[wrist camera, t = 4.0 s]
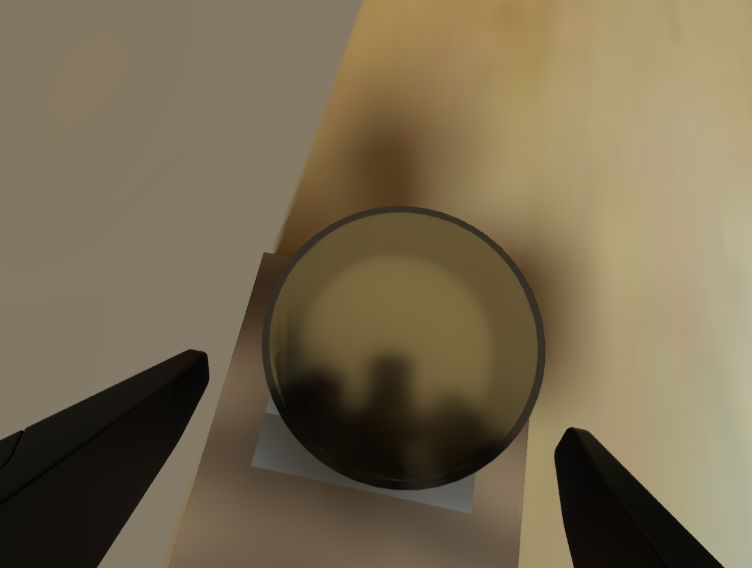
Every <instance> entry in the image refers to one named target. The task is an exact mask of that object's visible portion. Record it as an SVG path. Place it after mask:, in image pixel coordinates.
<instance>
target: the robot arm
mask: <svg viewBox="0 0 752 568" xmlns="http://www.w3.org/2000/svg"><path fill="white" fill-rule="evenodd" d="M208 382H209V366H208V356H207V354H206V353H205V352H202V351H198V350H193V349H189V350H187V351H185V352H182V353H180V354H178V355H176V356H174V357H172V358H170V359H168V360H166V361H164V362H161V363H160V364H157V365H155V366H153V367H151V368H149V369H147V370H145V371H143V372H141V373H139V374H137V375H134V376H132V377H130V378H128V379H126V380H124V381H122V382H120V383H118V384H116V385H114V386H112V387H110V388H108V389H105V390H104V391H101V392H99V393H97V394H96V395H93V396H91V397H89V398H87V399H85V400H83V401H81V402H79V403H77V404H74V405H72V406H70V407H68V408H66V409H64V410H62V411H60V412H58V413H56V414H54V415H52V416H50V417H48V418H45V419H43V420H41V421H39V422H37V423H35V424H33V425H31V426H29V427H27V428H25V430H24V431H23V430H21V431H18V432H16V433H14V434H12V435H10V436H8V437H6V438H4V439H2V440H0V568H97V567H98V565H99V564H100V562H101V561H102V559H103V558H104V556H105V554H106V553H107V551H108V550H109V548H110V547H111V545H112V544H113V542H114V541H115V539H116V537H117V536H118V534H119V533H120V531H121V530H122V528H123V527H124V525H125V524H126V522H127V521H128V519H129V517H130V516H131V514H132V513H133V511H134V510H135V508H136V507H137V505H138V504H139V502H140V500H141V499H142V497H143V496H144V494H145V493H146V491H147V490H148V488H149V487H150V485H151V483H152V482H153V480H154V479H155V477H156V476H157V474H158V473H159V471H160V470H161V468H162V467H163V465H164V464H165V462H166V460H167V459H168V457H169V456H170V454H171V453H172V451H173V449H174V448H175V446H176V445H177V443H178V441H179V440H180V438H181V436H182V434H183V432H184V430H185V428H186V426H187V424H188V423H189V420H190V419H191V417H192V415H193V413H194V411H195V409H196V407H197V405H198V403H199V401H200V399H201V397H202V395H203V393H204V391H205V389H206V387H207V385H208ZM554 459H555V467H556V474H557V481H558V489H559V496H560V503H561V511H562V517H563V523H564V528H565V532H566V537H567V541H568V545H569V549H570V553H571V557H572V562H573V566H574V568H724V567H723V566H722V565H721V564H720V563H719V562H718V561H717V560H716V559H715V558H714V557H713V556H712V555H711V554H710V553H709V552H708V551H707V550H706V549H705V548H704V547H703V546H702V545H701V544H700V543H699V542H698V541H697V540H696V539H695V538H694V537H693V536H692V535H691V534H690V533H689V532H688V531H687V530H686V529H685V528H684V527H683V526H682V525H681V524H680V523H679V522H678V521H677V519H676V518H675V517H674V516H673V515H672V514H671V513H670V512H669V511H668V510H667V509H666V508H665V507H664V506H663V505H662V504H661V503H660V502H659V501H658V500H657V499H656V498H655V497H654V496H653V495H652V494H651V493H650V492H649V491H648V490H647V489H646V488H645V487H644V486H643V485H642V484H641V483H640V482H639V481H638V480H637V479H636V478H635V477H634V476H633V475H632V474H631V473H630V472H629V471H628V470H627V469H626V468H625V467H624V466H623V465H622V464H621V463H620V462H619V461H618V460H617V459H616V458H615V457H614V456H613V455H612V454H611V453H610V452H609V451H608V450H607V449H606V448H605V447H604V446H603V445H602V444H601V443H600V442H599V441H598V440H597V439H596V438H595V437H594V436H593V435H592V434H591V433H590V432H588V431H587V430H584V429H579V428H574V427H570V428H568V429H567V430H566V431H565V433H564V435H563V437H562V438H561V440H560V442H559V444H558V445H557V447H556V449H555V454H554Z"/></svg>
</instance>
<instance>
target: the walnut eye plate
mask: <svg viewBox="0 0 752 568" xmlns="http://www.w3.org/2000/svg"><path fill="white" fill-rule="evenodd" d="M291 259H292V258H291V257H286V256H281V255H276V254H270V253H264V254H263V257H262V260H261V264H260V267H259V270H258V274H257V277H256V280H255V284H254V287H253V290H252V294H251V297H250V300H249V304H248V307H247V310H246V313H245V317H244V320H243V323H242V326H241V330H240V333H239V336H238V340H237V343H236V346H235V350H234V353H233V356H232V359H231V363H230V366H229V369H228V373H227V376H226V379H225V383H224V386H223V389H222V392H221V396H220V399H219V402H218V406H217V409H216V412H215V416H214V419H213V422H212V425H211V429H210V432H209V435H208V439H207V442H206V445H205V449H204V452H203V455H202V458H201V462H200V465H199V468H198V472H197V475H196V478H195V481H194V485H193V488H192V491H191V495H190V498H189V501H188V505H187V508H186V511H185V514H184V518H183V521H182V524H181V528H180V531H179V534H178V538H177V541H176V544H175V547H174V551H173V554H172V557H171V561H170V564H169V567H168V568H518V561H519V547H520V534H521V520H522V507H523V493H524V480H525V466H526V452H527V439H528V425H529V418H528V420H527V422H526V423H525V425H524V426H523V428H522V430H521V431H520V433H519V434H518V435H517V437H516V438H515V439H514V440H513V441H512V443H511V444H510V445H509V446H508V448H506V449H505V450H504V451H503V452H502V453H501V454H500V455H499V456H498V457H497V458H496V459H494V460H493V461H492V462H491V463H489V464H488V465H486V466H485V467H483V468H482V469H480V470H479V471H477V472H476V473H474V474H471V475H469V476H467V477H465V478H463V479H461V480H459V481H456V482H453V483H450V484H447V485H443V486H440V487H436V488H429V489H423V490H391V489H384V488H377V487H374V486H370V485H367V484H363V483H360V482H357V481H354V480H352V479H350V478H348V477H346V476H343V475H341V474H339V473H337V472H336V471H334V470H332V469H331V468H329V467H328V466H326V465H325V464H323V463H322V462H320V461H319V460H318V459H317V458H316V457H314V456H313V455H312V454H311V453H310V452H309V451H307V450H306V449H305V448H304V447H303V446H302V444H301V443H300V442H299V441H298V440H297V439H296V438H295V437H294V435H293V434H292V433H291V432H290V430H289V429H288V427H287V426H286V424H285V422H284V421H283V419H282V418H281V416H280V414H279V412H278V410H277V408H276V406H275V404H274V402H273V400H272V397H271V394H270V391H269V388H268V385H267V382H266V377H265V372H264V366H263V360H262V333H263V323H264V318H265V314H266V309H267V305H268V302H269V300H270V297H271V294H272V291H273V289H274V287H275V285H276V283H277V281H278V279H279V277H280V275H281V273H282V272H283V270H284V269H285V267H286V266H287V264H288V263H289V261H290V260H291Z"/></svg>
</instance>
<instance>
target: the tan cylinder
mask: <svg viewBox="0 0 752 568" xmlns="http://www.w3.org/2000/svg"><path fill="white" fill-rule="evenodd" d="M262 360H263V366H264V372H265V377H266V382H267V385H268V388H269V391H270V394H271V397H272V400H273V402H274V404H275V406H276V408H277V410H278V412H279V414H280V416H281V418H282V419H283V421H284V422H285V424H286V426H287V427H288V429H289V430H290V432H291V433H292V434H293V435H294V437H295V438H296V439H297V440H298V441H299V442H300V443H301V444H302V446H303V447H304V448H305V449H306V450H307V451H309V452H310V453H311V454H312V455H313V456H314V457H316V458H317V459H318V460H319V461H320V462H322V463H323V464H325V465H326V466H328V467H329V468H331V469H332V470H334V471H336V472H337V473H339V474H341V475H343V476H346V477H348V478H350V479H352V480H354V481H357V482H360V483H363V484H367V485H370V486H374V487H377V488H384V489H391V490H423V489H429V488H436V487H440V486H443V485H447V484H450V483H453V482H456V481H459V480H461V479H463V478H465V477H467V476H469V475H471V474H474V473H476V472H477V471H479V470H480V469H482V468H483V467H485V466H486V465H488V464H489V463H491V462H492V461H493V460H494V459H496V458H497V457H498V456H499V455H500V454H501V453H502V452H503V451H504V450H505V449H506V448H508V446H509V445H510V444H511V443H512V441H513V440H514V439H515V438H516V437H517V435H518V434H519V433H520V431H521V430H522V428H523V426H524V425H525V423H526V422H527V420H528V418H529V417H530V415H531V412H532V410H533V408H534V405H535V403H536V401H537V398H538V395H539V391H540V387H541V384H542V380H543V373H544V365H545V338H544V331H543V324H542V320H541V316H540V312H539V308H538V305H537V303H536V300H535V298H534V295H533V293H532V290H531V288H530V287H529V285H528V283H527V281H526V279H525V278H524V276H523V274H522V273H521V271H520V270H519V268H518V267H517V266H516V264H515V263H514V262H513V260H512V259H511V258H510V257H509V256H508V255H507V254H506V253H505V251H504V250H503V249H502V248H501V247H500V246H499V245H497V244H496V243H495V242H494V241H493V240H492V239H490V238H489V237H488V236H487V235H485V234H484V233H482V232H481V231H479V230H478V229H476V228H475V227H473V226H472V225H470V224H468V223H466V222H464V221H462V220H460V219H458V218H455V217H452V216H450V215H447V214H444V213H442V212H437V211H433V210H429V209H424V208H416V207H384V208H376V209H371V210H367V211H363V212H359V213H356V214H354V215H351V216H348V217H346V218H343V219H341V220H339V221H337V222H335V223H333V224H331V225H330V226H328V227H327V228H325V229H324V230H322V231H321V232H319V233H318V234H316V235H315V236H314V237H313V238H311V239H310V240H309V241H308V242H307V243H306V244H305V245H303V246H302V247H301V249H300V250H299V251H298V252H297V253H296V254H295V255H294V256H293V258H292V259H291V260H290V261H289V263H288V264H287V266H286V267H285V269H284V270H283V272H282V273H281V275H280V277H279V279H278V281H277V283H276V285H275V287H274V289H273V291H272V294H271V297H270V300H269V302H268V305H267V309H266V314H265V318H264V323H263V333H262Z"/></svg>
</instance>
